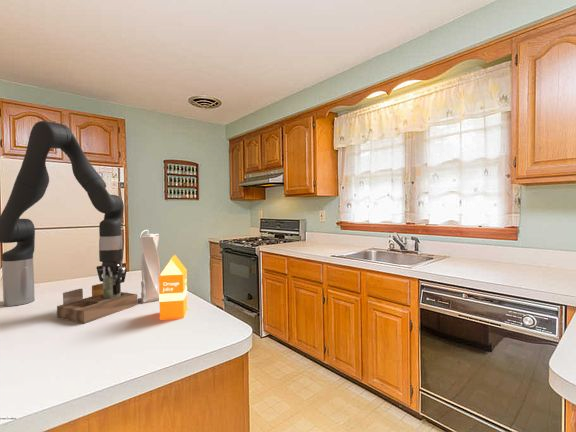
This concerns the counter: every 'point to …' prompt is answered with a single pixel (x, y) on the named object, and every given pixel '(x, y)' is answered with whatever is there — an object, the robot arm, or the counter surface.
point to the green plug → (109, 287)
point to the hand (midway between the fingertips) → (112, 293)
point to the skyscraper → (150, 268)
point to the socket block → (92, 305)
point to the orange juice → (173, 290)
